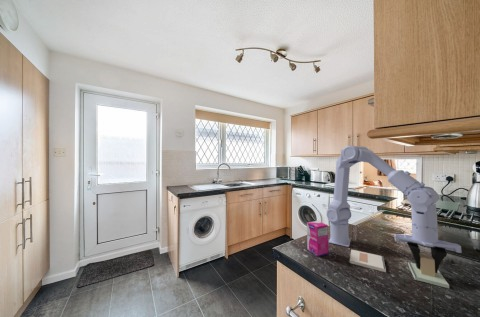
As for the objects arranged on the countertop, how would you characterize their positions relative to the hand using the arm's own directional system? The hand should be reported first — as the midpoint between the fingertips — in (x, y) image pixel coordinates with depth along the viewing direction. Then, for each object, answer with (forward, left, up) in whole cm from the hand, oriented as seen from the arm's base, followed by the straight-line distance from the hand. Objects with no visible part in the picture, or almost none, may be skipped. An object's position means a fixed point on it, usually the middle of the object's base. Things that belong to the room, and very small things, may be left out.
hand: (426, 269), depth 56 cm
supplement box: (+3, -31, -2) cm, 32 cm away
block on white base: (0, 0, -2) cm, 2 cm away
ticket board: (0, -15, -2) cm, 15 cm away
